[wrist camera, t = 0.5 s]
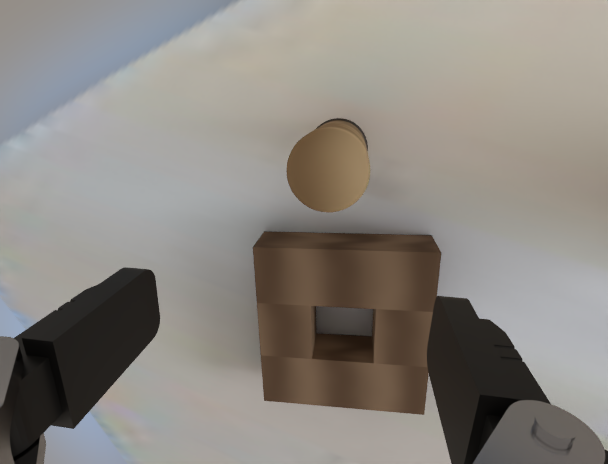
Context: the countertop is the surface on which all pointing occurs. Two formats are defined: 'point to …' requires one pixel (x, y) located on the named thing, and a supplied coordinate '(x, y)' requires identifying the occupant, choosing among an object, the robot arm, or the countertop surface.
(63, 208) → the countertop surface
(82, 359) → the robot arm
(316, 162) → the oak peg
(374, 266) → the walnut board
